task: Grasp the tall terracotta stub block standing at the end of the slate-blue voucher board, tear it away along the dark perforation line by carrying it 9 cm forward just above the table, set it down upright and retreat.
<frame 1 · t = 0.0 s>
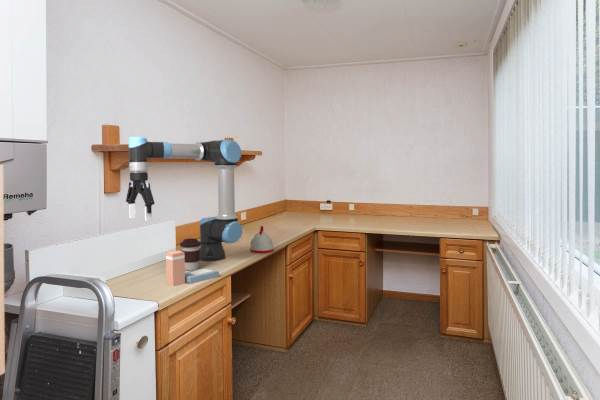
hand: (140, 219, 199), 28 cm above the countertop, tool pointing down, fingers open, 13 cm apart
grey dome: (261, 251, 267), on the countertop
coffee cup: (191, 269, 223), on the countertop
voucher board: (198, 278, 206), on the countertop
stub: (176, 283, 197), on the countertop
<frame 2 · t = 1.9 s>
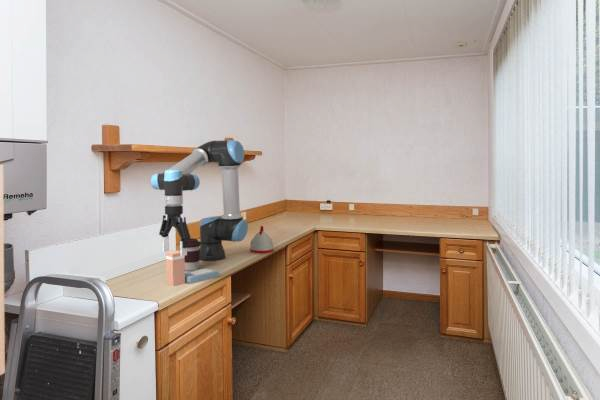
hand: (174, 253, 195), 14 cm above the countertop, tool pointing down, fingers open, 13 cm apart
nothing on the countertop moved.
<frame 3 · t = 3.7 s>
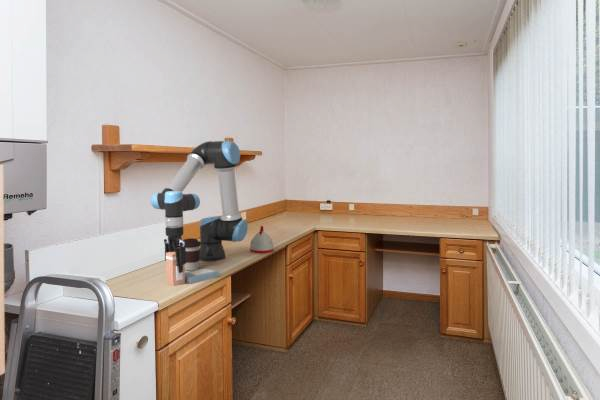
hand: (175, 278, 197), 2 cm above the countertop, tool pointing down, fingers closed on stub, 5 cm apart
stub: (176, 283, 197), on the countertop, touching gripper
everything else where it was.
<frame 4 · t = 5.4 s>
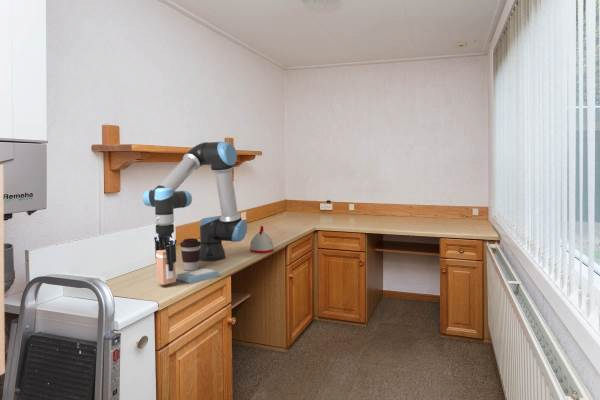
hand: (166, 277, 193), 4 cm above the countertop, tool pointing down, fingers closed on stub, 5 cm apart
stub: (166, 282, 193), point 2 cm above the countertop, touching gripper
everything else where it was.
when the fingers open (3 cm above the countertop, at t = 7.2 s): stub stays where it is, on the countertop.
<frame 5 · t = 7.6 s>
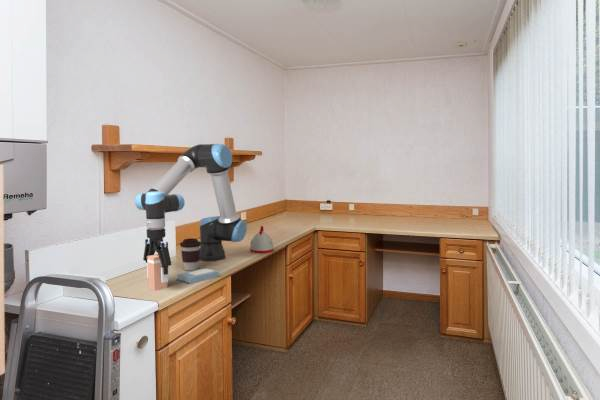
hand: (157, 279, 190), 4 cm above the countertop, tool pointing down, fingers open, 10 cm apart
stub: (157, 288, 190), on the countertop
everything else where it was.
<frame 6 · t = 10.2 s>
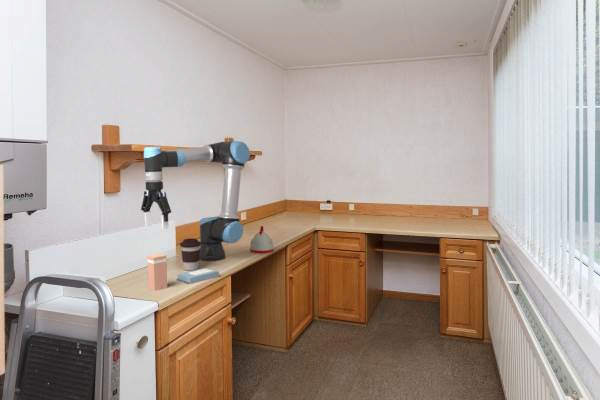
hand: (156, 227, 204), 24 cm above the countertop, tool pointing down, fingers open, 13 cm apart
nothing on the countertop moved.
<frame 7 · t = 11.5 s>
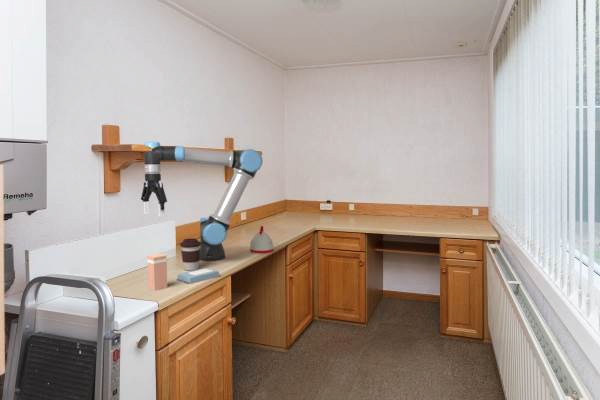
hand: (154, 215, 224), 27 cm above the countertop, tool pointing down, fingers open, 13 cm apart
nothing on the countertop moved.
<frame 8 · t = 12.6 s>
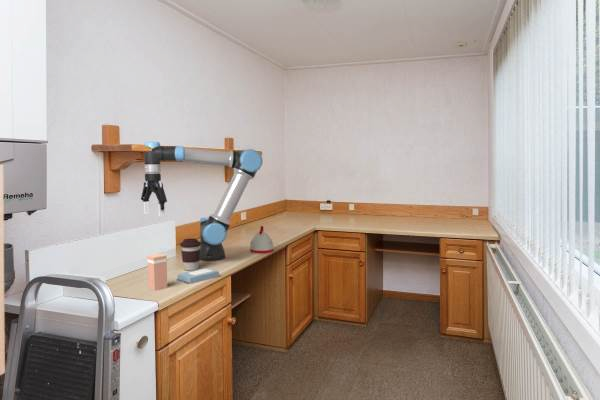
hand: (154, 215, 224), 27 cm above the countertop, tool pointing down, fingers open, 13 cm apart
nothing on the countertop moved.
at the end: stub inside the target area (1.1 cm from its centre), on the countertop; stub tilted 0°; the gripper is holding nothing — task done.
